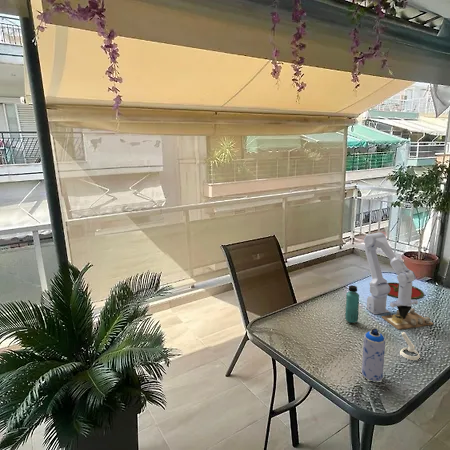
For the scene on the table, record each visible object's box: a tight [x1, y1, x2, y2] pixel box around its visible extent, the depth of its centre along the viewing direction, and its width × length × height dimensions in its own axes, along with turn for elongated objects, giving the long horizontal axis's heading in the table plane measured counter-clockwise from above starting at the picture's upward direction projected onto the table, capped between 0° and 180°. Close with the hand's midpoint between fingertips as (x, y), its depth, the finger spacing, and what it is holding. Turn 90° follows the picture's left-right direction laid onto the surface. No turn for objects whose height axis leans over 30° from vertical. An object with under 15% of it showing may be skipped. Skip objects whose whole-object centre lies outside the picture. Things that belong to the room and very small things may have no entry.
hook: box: [399, 331, 421, 361], centre depth 133 cm, size 8×12×7 cm
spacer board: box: [381, 307, 434, 330], centre depth 160 cm, size 20×13×3 cm, turn 101°
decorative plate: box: [387, 282, 425, 300], centre depth 196 cm, size 25×1×25 cm
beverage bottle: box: [344, 285, 360, 323], centre depth 159 cm, size 6×7×20 cm
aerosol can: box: [361, 328, 386, 381], centre depth 119 cm, size 8×8×20 cm
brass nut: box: [392, 314, 403, 323], centre depth 158 cm, size 5×4×2 cm
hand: (402, 318), depth 159 cm, fingers closed
